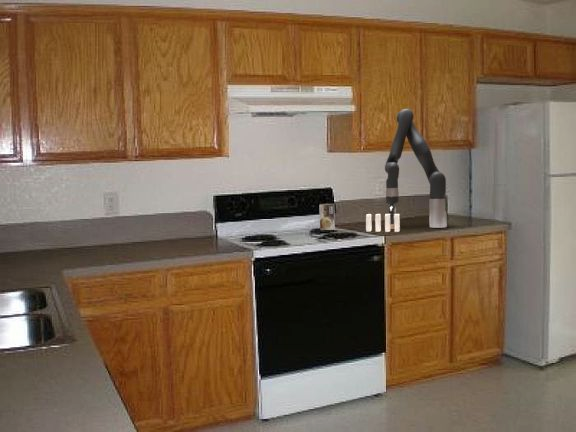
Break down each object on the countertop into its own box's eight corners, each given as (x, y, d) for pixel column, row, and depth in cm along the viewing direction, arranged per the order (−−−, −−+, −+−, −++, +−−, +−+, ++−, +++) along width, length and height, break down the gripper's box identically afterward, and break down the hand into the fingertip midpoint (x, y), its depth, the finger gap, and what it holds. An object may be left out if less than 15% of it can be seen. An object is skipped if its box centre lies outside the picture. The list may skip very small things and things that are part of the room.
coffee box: (335, 229, 371) (334, 203, 370) (334, 230, 364) (334, 204, 363) (320, 230, 372) (319, 203, 370) (319, 231, 365) (319, 204, 364)
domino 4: (395, 228, 366) (395, 212, 365) (394, 229, 361) (394, 213, 360) (391, 228, 366) (391, 212, 366) (390, 229, 362) (389, 213, 361)
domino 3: (390, 231, 354) (390, 214, 353) (389, 231, 349) (389, 214, 349) (386, 231, 355) (386, 214, 354) (385, 231, 350) (384, 214, 349)
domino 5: (399, 231, 352) (399, 213, 352) (398, 231, 348) (398, 214, 347) (395, 231, 353) (395, 214, 352) (394, 231, 348) (394, 214, 348)
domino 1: (371, 230, 357) (371, 214, 357) (370, 231, 353) (370, 214, 352) (367, 230, 358) (367, 214, 357) (366, 231, 353) (365, 214, 353)
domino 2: (380, 231, 356) (380, 214, 355) (379, 231, 351) (379, 214, 350) (376, 231, 356) (376, 214, 356) (375, 231, 352) (375, 214, 351)
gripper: (387, 195, 370) (387, 222, 371) (384, 196, 357) (384, 224, 358) (399, 195, 368) (400, 222, 369) (397, 196, 354) (397, 224, 356)
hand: (392, 223), depth 363 cm, fingers closed on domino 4, 5 cm apart
